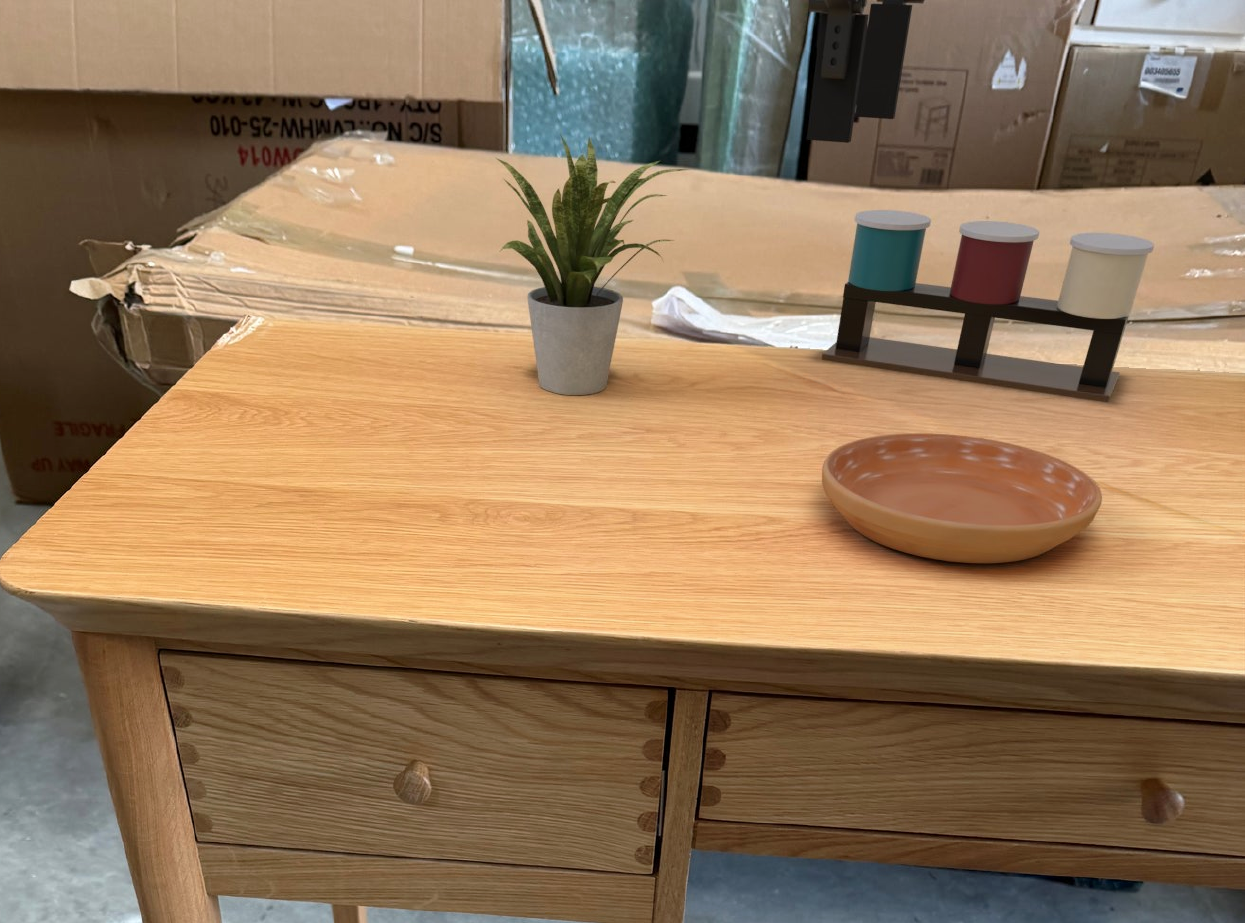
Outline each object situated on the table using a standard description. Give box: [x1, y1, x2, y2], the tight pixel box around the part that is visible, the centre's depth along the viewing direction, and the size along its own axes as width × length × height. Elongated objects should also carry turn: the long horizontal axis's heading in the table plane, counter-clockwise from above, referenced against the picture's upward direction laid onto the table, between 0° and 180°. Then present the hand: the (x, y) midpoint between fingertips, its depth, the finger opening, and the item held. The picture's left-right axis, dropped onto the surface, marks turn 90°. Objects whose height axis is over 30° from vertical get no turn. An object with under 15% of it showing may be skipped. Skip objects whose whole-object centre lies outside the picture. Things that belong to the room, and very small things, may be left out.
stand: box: [821, 280, 1130, 403], centre depth 94 cm, size 7×22×6 cm, turn 64°
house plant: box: [495, 134, 690, 396], centre depth 86 cm, size 14×14×16 cm
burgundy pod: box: [950, 220, 1040, 305], centre depth 91 cm, size 6×6×5 cm
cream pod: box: [1057, 232, 1155, 319], centre depth 88 cm, size 6×6×5 cm
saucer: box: [821, 432, 1103, 564], centre depth 72 cm, size 16×16×3 cm
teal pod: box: [847, 209, 932, 291], centre depth 93 cm, size 6×6×5 cm
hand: (852, 129), depth 82 cm, fingers open, 13 cm apart
